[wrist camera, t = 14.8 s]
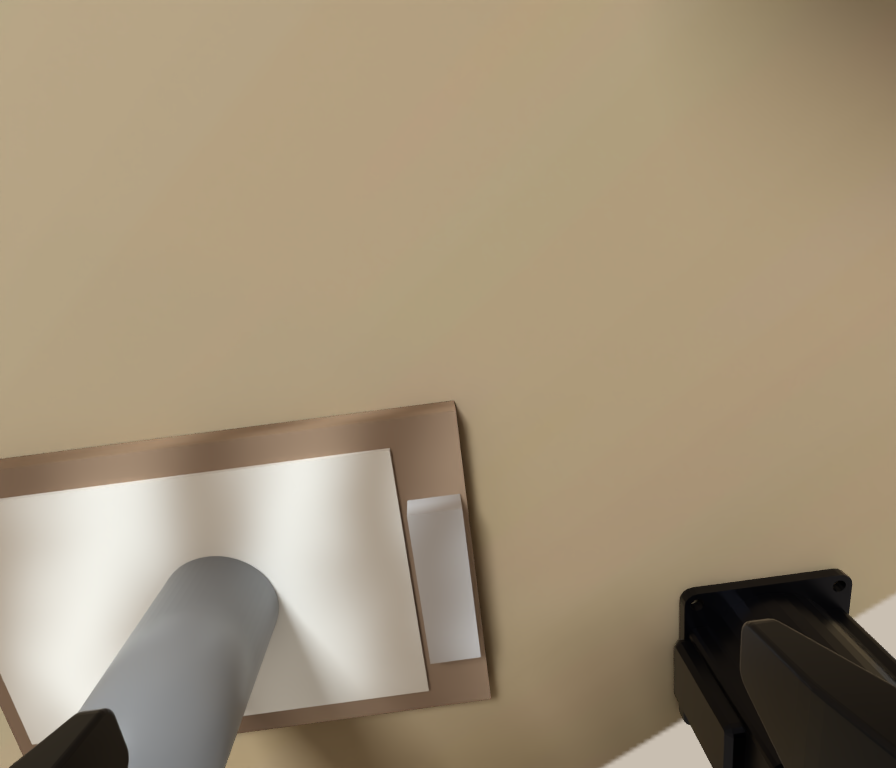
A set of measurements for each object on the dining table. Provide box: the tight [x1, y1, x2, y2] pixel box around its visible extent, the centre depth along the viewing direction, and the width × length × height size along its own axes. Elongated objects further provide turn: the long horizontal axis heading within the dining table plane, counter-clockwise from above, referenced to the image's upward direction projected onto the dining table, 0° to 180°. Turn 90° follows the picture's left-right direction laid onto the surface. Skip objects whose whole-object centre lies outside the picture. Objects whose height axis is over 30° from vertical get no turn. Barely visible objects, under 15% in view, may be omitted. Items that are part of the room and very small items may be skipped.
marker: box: [78, 556, 279, 768], centre depth 15 cm, size 4×4×10 cm
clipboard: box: [0, 401, 491, 756], centre depth 20 cm, size 18×12×2 cm, turn 97°
